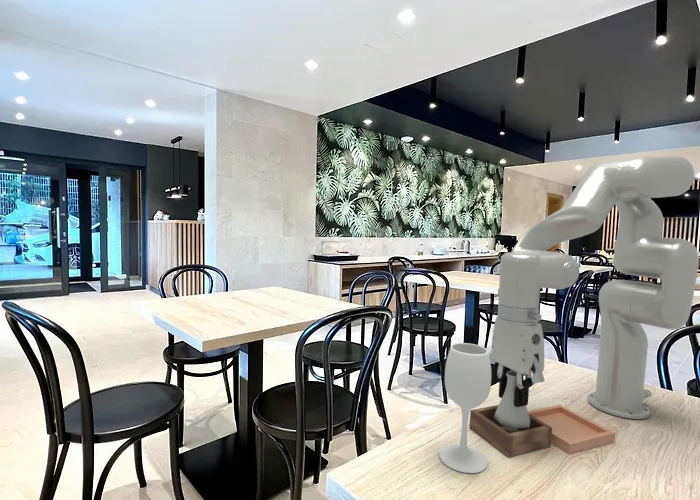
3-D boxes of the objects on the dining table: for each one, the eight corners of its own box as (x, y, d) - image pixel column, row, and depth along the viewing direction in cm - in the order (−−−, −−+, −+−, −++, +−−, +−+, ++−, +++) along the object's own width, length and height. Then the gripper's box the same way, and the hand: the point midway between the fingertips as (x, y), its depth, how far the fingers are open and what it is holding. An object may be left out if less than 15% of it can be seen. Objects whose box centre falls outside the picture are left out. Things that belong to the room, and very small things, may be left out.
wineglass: (429, 450, 74) (435, 343, 72) (466, 442, 77) (472, 339, 76) (458, 478, 66) (465, 358, 64) (497, 468, 69) (505, 354, 68)
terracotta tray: (559, 412, 91) (559, 404, 91) (614, 442, 79) (615, 432, 79) (517, 421, 86) (518, 412, 86) (569, 454, 74) (570, 444, 74)
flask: (535, 431, 75) (538, 382, 74) (496, 427, 77) (498, 378, 76) (526, 413, 82) (528, 368, 81) (490, 409, 84) (492, 365, 83)
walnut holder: (508, 420, 87) (510, 402, 86) (550, 447, 76) (552, 427, 76) (469, 428, 82) (470, 410, 82) (507, 457, 72) (509, 437, 72)
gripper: (567, 322, 71) (561, 417, 73) (502, 303, 87) (498, 382, 88) (537, 325, 69) (531, 424, 70) (475, 306, 84) (471, 387, 85)
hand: (513, 400), depth 79 cm, fingers closed on flask, 3 cm apart
